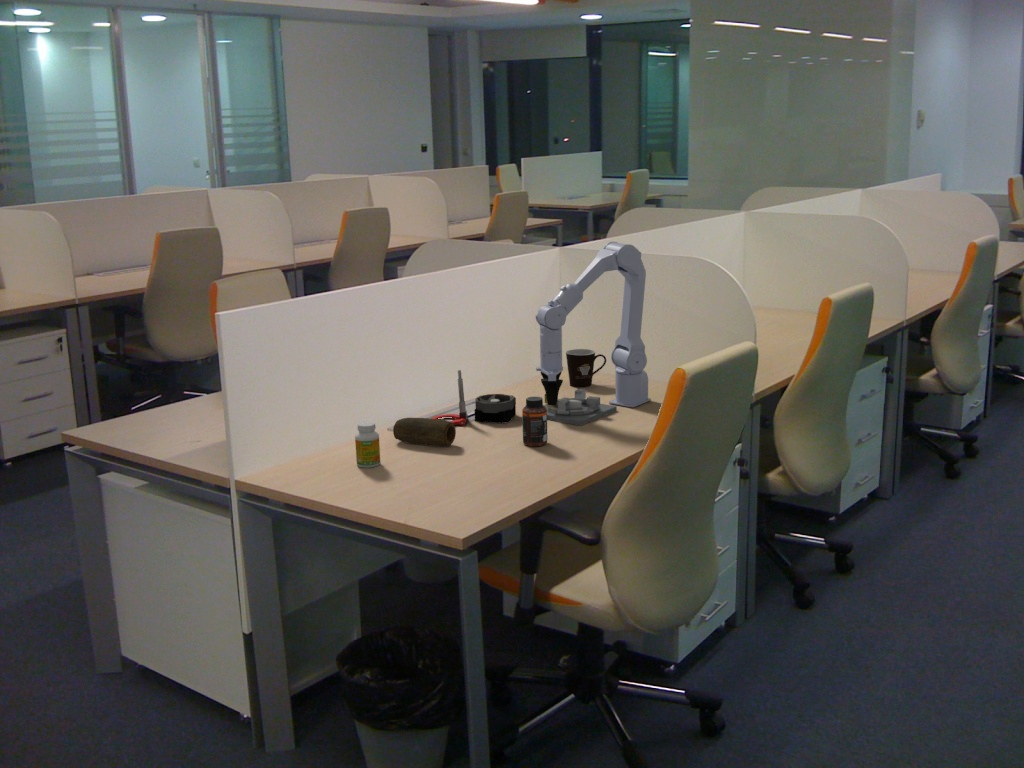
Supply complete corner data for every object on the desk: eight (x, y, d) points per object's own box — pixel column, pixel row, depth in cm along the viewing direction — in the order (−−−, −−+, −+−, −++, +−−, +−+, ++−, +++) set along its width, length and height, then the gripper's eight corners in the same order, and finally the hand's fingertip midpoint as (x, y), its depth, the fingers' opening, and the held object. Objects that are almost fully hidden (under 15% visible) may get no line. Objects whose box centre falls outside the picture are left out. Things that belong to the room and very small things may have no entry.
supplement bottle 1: (361, 469, 223) (358, 428, 221) (353, 463, 228) (351, 422, 226) (384, 465, 226) (381, 424, 223) (375, 459, 231) (373, 419, 228)
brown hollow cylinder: (459, 442, 242) (458, 416, 240) (447, 451, 236) (446, 424, 234) (404, 437, 247) (402, 411, 246) (390, 445, 241) (389, 419, 239)
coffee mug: (564, 388, 290) (564, 355, 288) (567, 381, 299) (567, 348, 296) (604, 389, 289) (604, 355, 286) (606, 382, 297) (606, 349, 294)
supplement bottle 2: (552, 444, 238) (551, 399, 236) (531, 449, 235) (530, 402, 233) (539, 438, 243) (538, 393, 241) (518, 442, 240) (517, 397, 238)
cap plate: (564, 401, 276) (564, 391, 276) (616, 410, 266) (616, 399, 265) (527, 415, 263) (527, 404, 263) (580, 425, 253) (580, 414, 252)
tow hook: (426, 429, 255) (465, 427, 254) (421, 376, 252) (460, 374, 251) (431, 419, 264) (468, 417, 263) (426, 368, 261) (464, 366, 260)
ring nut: (556, 399, 274) (556, 386, 273) (608, 403, 268) (608, 391, 267) (535, 413, 261) (535, 400, 260) (589, 418, 255) (588, 405, 254)
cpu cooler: (470, 401, 257) (481, 392, 267) (470, 423, 259) (482, 412, 268) (508, 403, 254) (518, 393, 264) (509, 425, 256) (519, 414, 265)
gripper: (535, 345, 268) (536, 394, 271) (536, 357, 254) (537, 408, 257) (561, 345, 268) (562, 393, 271) (563, 356, 254) (564, 408, 257)
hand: (551, 401), depth 264 cm, fingers open, 7 cm apart
